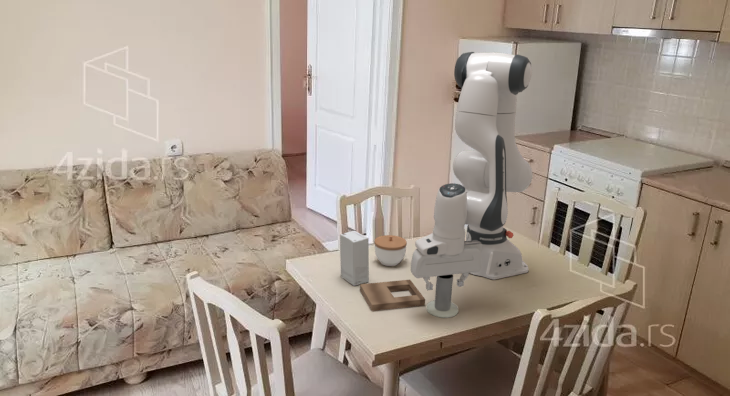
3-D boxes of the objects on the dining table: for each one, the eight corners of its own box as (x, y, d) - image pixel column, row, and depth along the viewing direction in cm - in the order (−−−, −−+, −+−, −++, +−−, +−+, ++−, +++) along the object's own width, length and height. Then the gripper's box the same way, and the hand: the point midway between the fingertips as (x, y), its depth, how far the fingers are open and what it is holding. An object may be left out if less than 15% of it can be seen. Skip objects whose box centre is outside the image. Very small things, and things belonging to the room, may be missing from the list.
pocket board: (409, 285, 185) (410, 279, 184) (424, 305, 173) (425, 299, 172) (359, 290, 180) (360, 284, 180) (371, 311, 168) (372, 304, 168)
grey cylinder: (440, 312, 167) (442, 279, 164) (431, 305, 171) (433, 273, 168) (453, 309, 169) (456, 276, 166) (444, 302, 173) (447, 270, 170)
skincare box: (369, 282, 185) (370, 238, 181) (352, 286, 182) (354, 242, 178) (354, 272, 192) (356, 229, 187) (338, 276, 189) (339, 232, 184)
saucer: (450, 300, 176) (450, 298, 176) (463, 316, 168) (463, 313, 167) (421, 303, 173) (422, 301, 173) (433, 319, 165) (433, 316, 165)
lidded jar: (375, 269, 195) (377, 243, 192) (371, 256, 205) (372, 230, 202) (408, 268, 196) (409, 242, 193) (402, 255, 206) (403, 230, 203)
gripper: (477, 235, 170) (473, 278, 174) (409, 241, 164) (407, 286, 169) (487, 243, 164) (483, 288, 169) (417, 250, 159) (415, 296, 163)
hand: (444, 287), depth 169 cm, fingers open, 8 cm apart
